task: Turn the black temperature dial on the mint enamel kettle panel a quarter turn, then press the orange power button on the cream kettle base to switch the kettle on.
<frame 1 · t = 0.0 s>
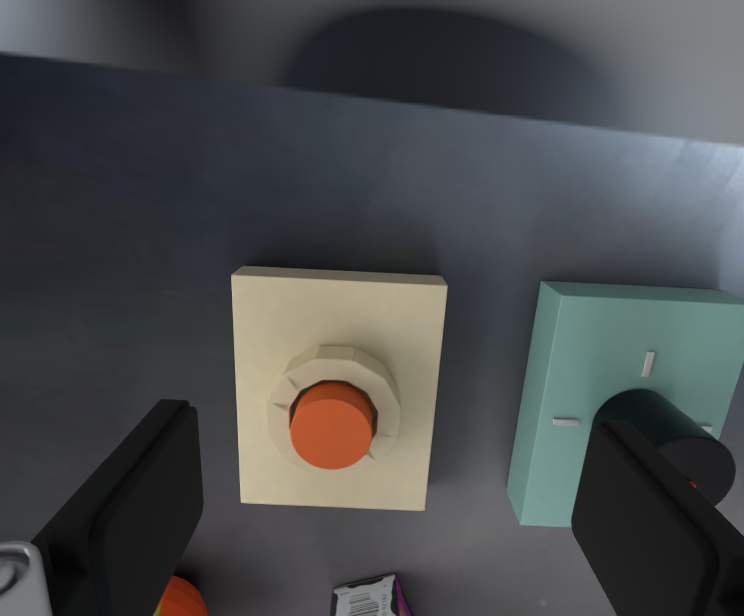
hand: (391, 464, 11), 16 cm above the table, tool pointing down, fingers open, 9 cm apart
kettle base: (338, 384, 27), on the table
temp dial: (658, 451, 22), point 5 cm above the table, hinge at 0.0°
power button: (332, 425, 23), point 4 cm above the table, slide at 0.1 cm
clementine: (176, 581, 32), on the table
dial panel: (604, 397, 28), on the table
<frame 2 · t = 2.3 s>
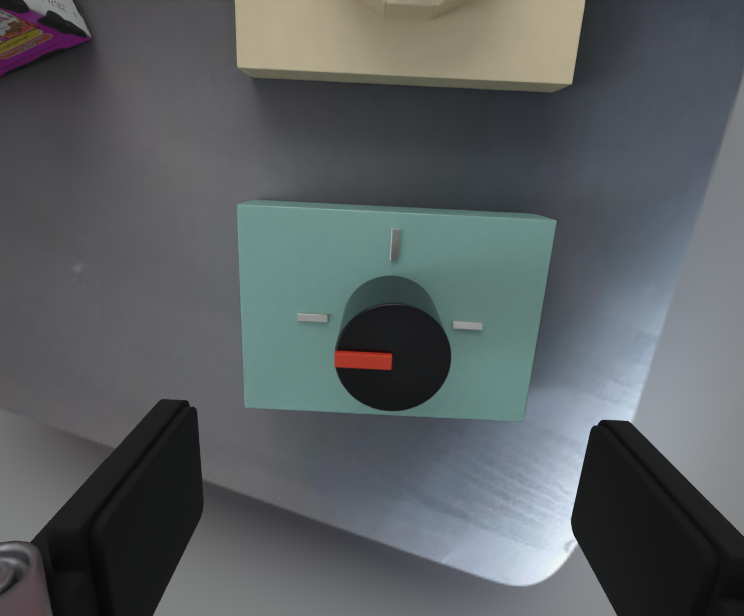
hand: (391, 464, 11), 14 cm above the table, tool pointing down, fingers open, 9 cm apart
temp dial: (391, 339, 19), point 5 cm above the table, hinge at 0.0°
dial panel: (388, 302, 24), on the table
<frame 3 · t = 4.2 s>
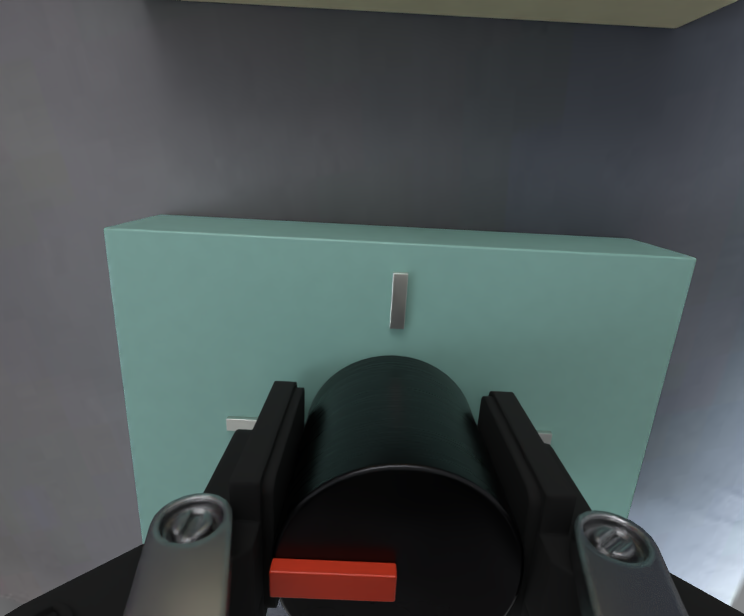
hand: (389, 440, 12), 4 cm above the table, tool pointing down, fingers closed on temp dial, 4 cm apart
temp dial: (393, 491, 10), point 5 cm above the table, hinge at 0.1°, touching gripper
dial panel: (386, 378, 15), on the table
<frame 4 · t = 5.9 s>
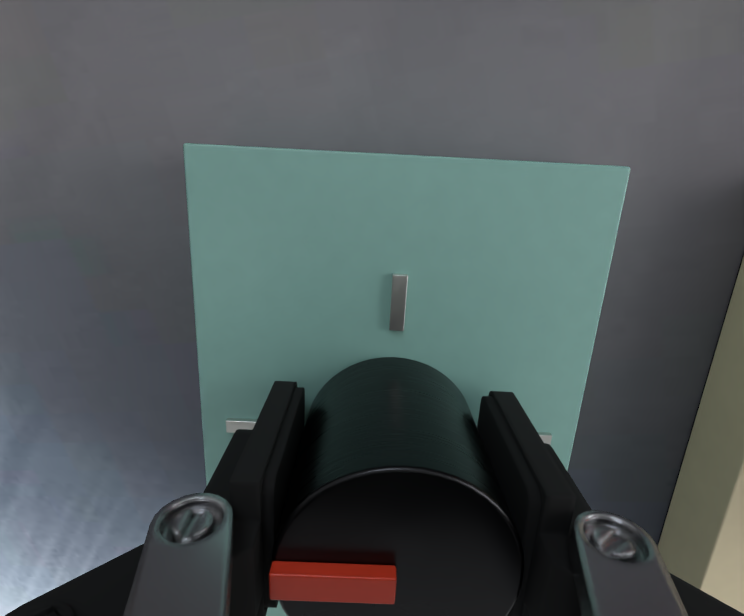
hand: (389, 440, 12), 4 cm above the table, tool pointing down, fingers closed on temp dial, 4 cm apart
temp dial: (392, 493, 10), point 5 cm above the table, hinge at 90.3°, touching gripper
dial panel: (386, 380, 15), on the table
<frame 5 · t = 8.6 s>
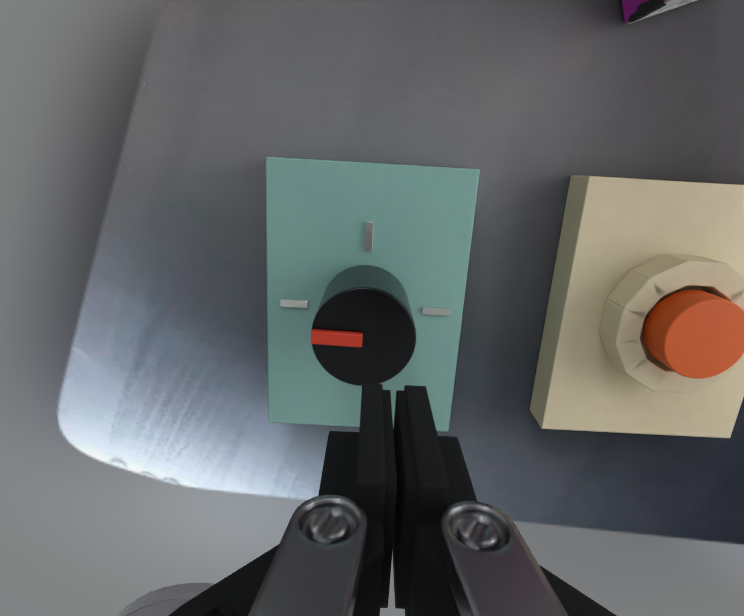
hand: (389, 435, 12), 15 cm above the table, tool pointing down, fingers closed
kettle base: (642, 306, 26), on the table
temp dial: (364, 322, 21), point 5 cm above the table, hinge at 88.9°
power button: (694, 333, 22), point 4 cm above the table, slide at 0.1 cm
dial panel: (366, 291, 26), on the table
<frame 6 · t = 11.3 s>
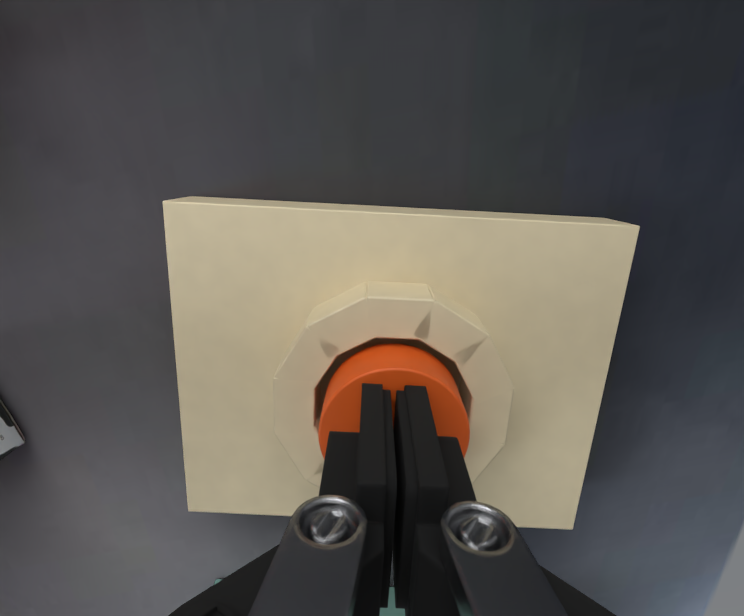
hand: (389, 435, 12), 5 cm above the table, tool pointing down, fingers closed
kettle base: (388, 357, 17), on the table
power button: (392, 420, 13), point 4 cm above the table, slide at 0.1 cm, touching gripper
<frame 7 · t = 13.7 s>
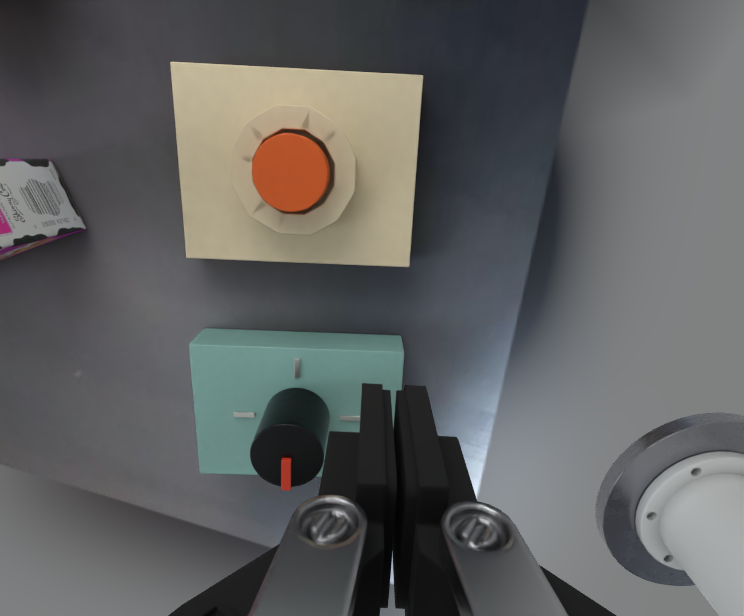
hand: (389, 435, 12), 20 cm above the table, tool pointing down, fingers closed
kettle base: (302, 170, 29), on the table
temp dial: (292, 436, 29), point 5 cm above the table, hinge at 88.9°
power button: (292, 173, 25), point 4 cm above the table, slide at 0.1 cm
dial panel: (303, 394, 34), on the table
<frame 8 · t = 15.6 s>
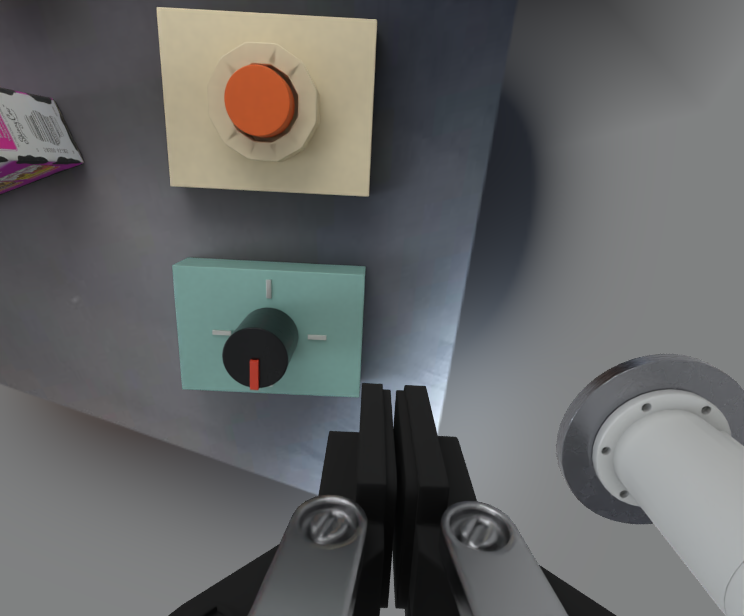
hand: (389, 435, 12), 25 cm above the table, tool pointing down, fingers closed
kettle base: (275, 110, 33), on the table
candy bar box: (6, 154, 34), on the table
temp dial: (262, 346, 32), point 5 cm above the table, hinge at 88.9°
power button: (260, 102, 29), point 4 cm above the table, slide at 0.1 cm
dial panel: (277, 321, 38), on the table
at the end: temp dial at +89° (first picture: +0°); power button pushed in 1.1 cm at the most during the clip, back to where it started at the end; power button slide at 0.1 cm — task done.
